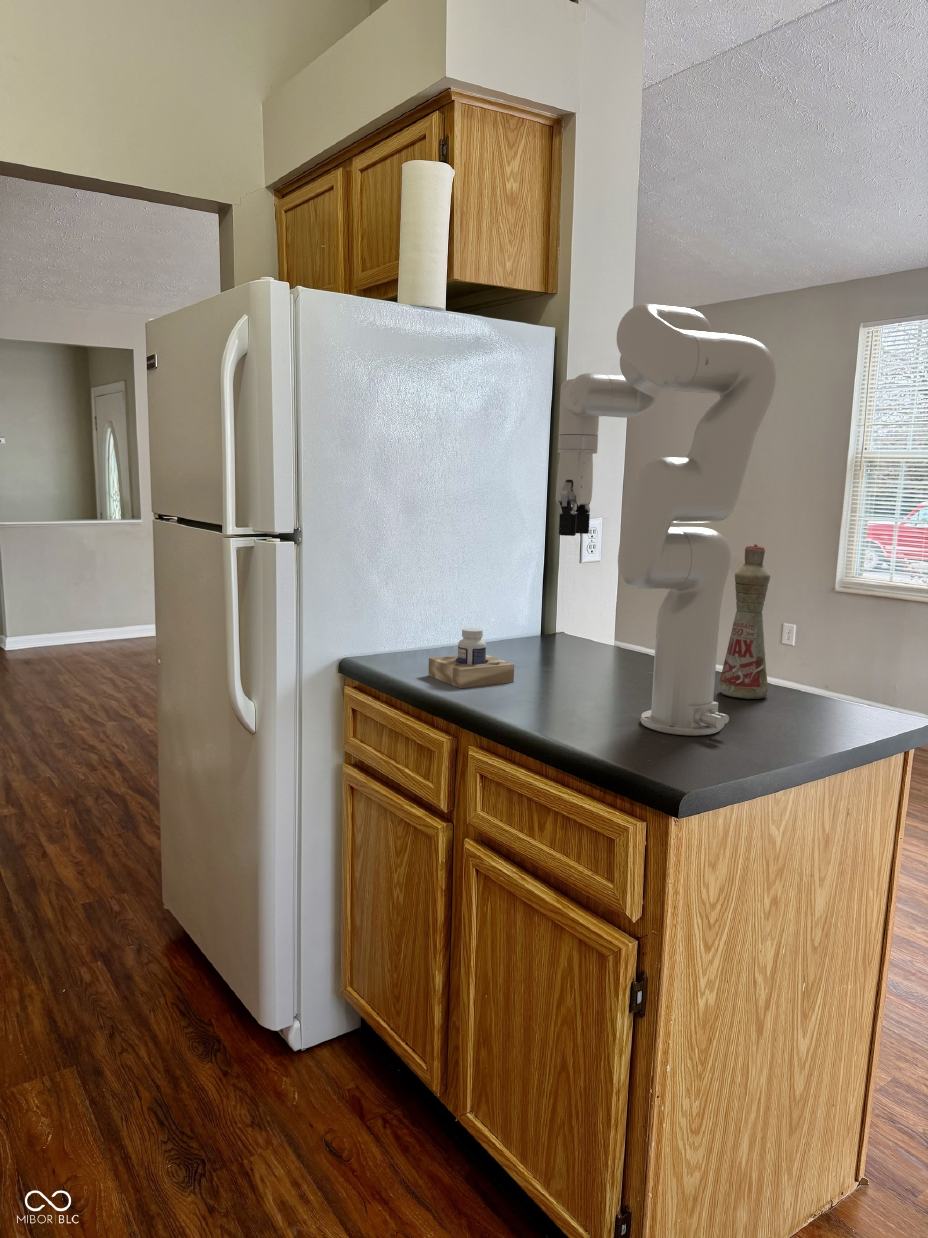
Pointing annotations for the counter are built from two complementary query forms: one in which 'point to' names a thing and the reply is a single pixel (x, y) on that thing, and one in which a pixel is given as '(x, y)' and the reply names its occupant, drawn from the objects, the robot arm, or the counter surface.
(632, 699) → the counter surface
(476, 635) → the pill bottle
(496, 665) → the collar
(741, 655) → the bottle
